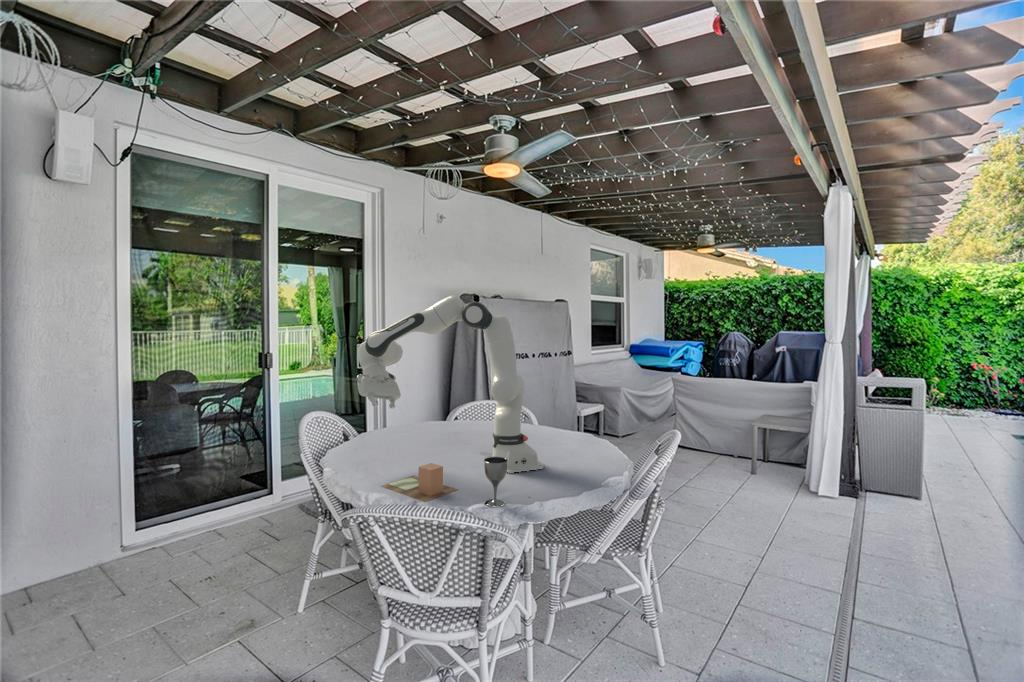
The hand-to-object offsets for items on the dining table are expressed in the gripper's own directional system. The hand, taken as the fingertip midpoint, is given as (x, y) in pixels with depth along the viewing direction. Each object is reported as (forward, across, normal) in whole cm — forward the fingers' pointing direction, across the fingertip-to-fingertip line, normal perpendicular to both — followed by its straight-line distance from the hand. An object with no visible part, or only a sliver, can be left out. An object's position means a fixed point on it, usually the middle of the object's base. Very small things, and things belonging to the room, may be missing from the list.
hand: (384, 406), depth 206 cm
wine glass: (+54, +4, -30) cm, 62 cm away
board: (+38, -2, -6) cm, 38 cm away
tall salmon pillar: (+41, -3, -11) cm, 42 cm away
